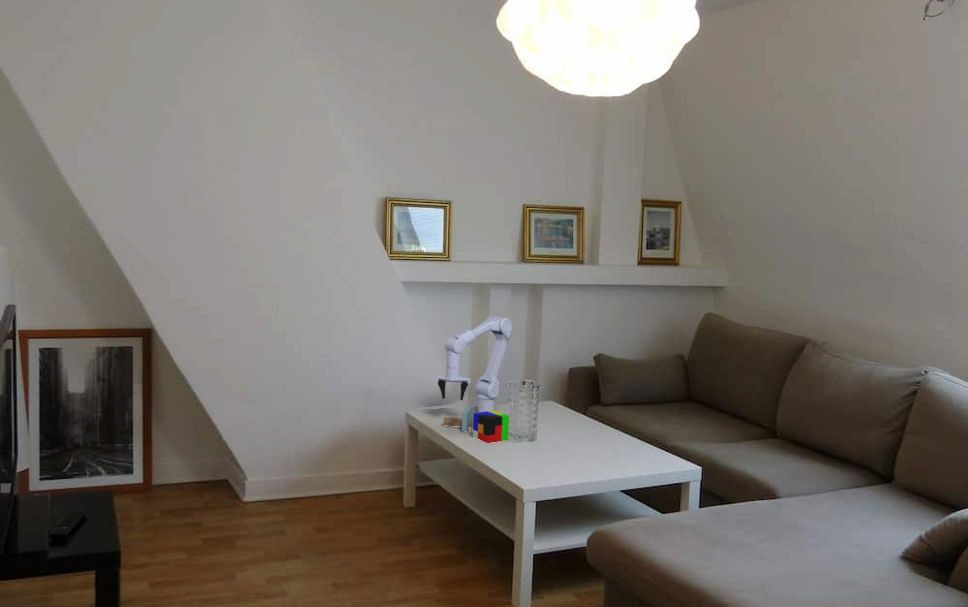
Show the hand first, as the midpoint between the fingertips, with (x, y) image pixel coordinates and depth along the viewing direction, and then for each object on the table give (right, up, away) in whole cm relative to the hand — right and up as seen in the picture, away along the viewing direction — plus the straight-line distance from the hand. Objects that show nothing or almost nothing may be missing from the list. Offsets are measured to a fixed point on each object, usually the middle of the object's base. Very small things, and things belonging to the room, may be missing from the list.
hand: (452, 399), depth 381 cm
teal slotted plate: (+6, -11, -5) cm, 14 cm away
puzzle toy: (+16, -14, -21) cm, 29 cm away
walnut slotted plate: (+6, -11, -5) cm, 14 cm away
